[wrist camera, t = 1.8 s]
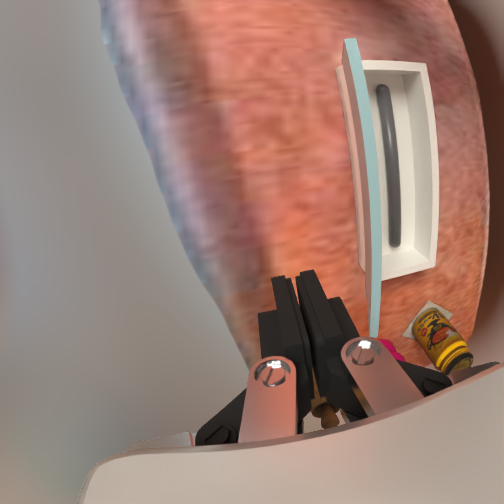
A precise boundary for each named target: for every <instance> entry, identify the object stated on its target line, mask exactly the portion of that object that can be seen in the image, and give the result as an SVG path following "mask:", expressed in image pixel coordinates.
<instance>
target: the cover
mask: <svg viewBox="0 0 504 504" xmlns="http://www.w3.org/2000/svg"><path fill="white" fill-rule="evenodd" d="M342 65H343V70H344V75H345V79H346V84H347V89H348V95H349V100H350V106H351V112H352V118H353V124H354V131H355V138H356V145H357V153H358V161H359V170H360V180H361V191H362V203H363V218H364V239H365V285H366V296H367V309H368V324H369V337H378V328H379V316H380V300H381V276H382V224H381V200H380V184H379V171H378V161H377V151H376V142H375V134H374V127H373V120H372V113H371V107H370V101H369V96H368V90H367V85H366V80H365V75H364V70H363V65H362V61H361V57H360V52H359V48H358V44H357V40H356V38H350V39H344V44H343V52H342Z"/></svg>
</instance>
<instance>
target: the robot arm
mask: <svg viewBox="0 0 504 504" xmlns="http://www.w3.org/2000/svg"><path fill="white" fill-rule="evenodd" d="M295 278H296V285H297V292H298V299H299V304H298V301H297V297H296V294H295V291H294V287H293V284H292V281H291V278H287V279H285V275H283V276H278V277H273V278H271V280H272V285H273V291H274V296H275V301H276V307H277V310H273V311H267V312H262V313H258V322H259V334H260V345H261V356H262V359H261V360H259V361H258V362H257V363H255V364H254V365H253V367H252V368H251V370H250V373H249V378H248V384H247V388H246V389H245V390H244V391H243V392H242V393H240V394H239V395H238V396H237V397H236V398H235V399H234V400H233V401H232V402H230V403H229V404H228V405H227V406H226V407H225V408H224V409H222V410H221V411H220V412H219V413H218V414H216V415H215V416H214V417H213V418H212V419H211V420H209V421H208V422H207V423H206V424H205V425H203V426H202V427H201V429H199V431H198V432H197V433H192V434H190V432H184V433H180V434H175V435H170V436H166V437H161V438H156V439H151V440H144V441H139V442H136V443H133V444H132V445H131V446H129V447H128V449H127V450H126V452H124V453H120V454H116V455H113V456H110V457H108V458H106V459H103V460H102V461H100V462H98V463H97V464H95V466H94V467H93V468H92V469H91V470H90V472H89V473H88V475H87V477H86V479H85V481H84V484H83V486H82V488H81V491H80V494H79V497H78V500H77V504H504V362H502V363H499V362H490V363H486V364H482V365H478V366H473V367H469V368H465V369H460V370H456V371H451V372H450V374H449V375H445V374H443V373H441V372H438V371H435V370H431V369H428V368H424V367H421V366H417V365H414V364H410V363H407V362H404V361H400V360H397V359H394V357H393V356H392V355H391V353H390V352H389V351H388V350H387V348H386V347H385V346H384V345H383V344H382V343H381V342H380V341H379V340H377V339H375V338H372V337H360V336H359V334H358V332H357V330H356V328H355V326H354V324H353V322H352V320H351V318H350V316H349V314H348V312H347V310H346V308H345V306H344V304H343V302H342V300H341V298H340V297H335V298H330V299H327V297H326V295H325V293H324V291H323V289H322V286H321V284H320V282H319V280H318V278H317V276H316V273H315V271H314V270H308V271H303V272H300V276H297V277H295ZM299 307H300V308H299ZM312 368H313V371H312ZM313 372H314V376H315V380H316V384H317V387H318V391H319V395H320V398H321V397H326V401H327V404H331V405H334V406H336V407H338V408H340V412H341V415H342V417H343V419H344V421H345V423H346V424H344V425H340V426H336V427H331V428H327V429H323V430H318V431H314V432H309V433H304V421H303V418H304V417H305V416H306V415H307V414H308V412H309V411H310V410H311V409H312V406H311V400H312V399H315V394H314V382H313Z"/></svg>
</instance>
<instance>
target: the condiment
mask: <svg viewBox="0 0 504 504" xmlns="http://www.w3.org/2000/svg"><path fill="white" fill-rule="evenodd" d="M452 315H453V313H451V312H449V311H447V310H445V309H443V308H442V307H440V306H438V305H436V304H434V303H432V302H430V301H427V303H426V304H425V305H424V307H423V308H422V309H421V310H420V312H419V313H418V314H417V316H416V317H415V318H414V320H413V321H412V322H411V324H410V325H409V326H408V328H407V329H406V331H405V332H404V333H403V334H402V336H405V337H408V338H411V339H413V340H416V341H418V342H419V343H420V345H421V346H422V348H423V349H424V351H425V352H426V354H427V355H428V357H429V358H430V360H431V361H432V363H433V365H434V366H435V368H436V369H437V370H439V371H441V373H443V374H445V375H449V374H450V372H451V371H456V370H460V369H465V368H469V367H471V365H472V363H473V355H472V354H471V353H470V351H469V349H468V348H467V346H466V342H465V341H464V339H463V338H462V336H460V334H459V333H458V332H457V331H456V329H455V328H454V327H453V326H452V325H451V323H450V322H449V321H448V320H449V319H450V318H451V316H452Z"/></svg>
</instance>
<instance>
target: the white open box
mask: <svg viewBox="0 0 504 504" xmlns="http://www.w3.org/2000/svg"><path fill="white" fill-rule="evenodd" d="M361 61H362V65H363V70H364V75H365V80H366V85H367V90H368V96H369V101H370V107H371V113H372V120H373V127H374V134H375V142H376V151H377V161H378V171H379V184H380V200H381V224H382V276H381V281H383V280H387V279H391V278H395V277H399V276H403V275H406V274H410V273H414V272H418V271H421V270H425V269H428V268H432V267H435V260H436V250H437V237H438V219H439V164H438V146H437V134H436V124H435V115H434V107H433V100H432V94H431V88H430V82H429V77H428V72H427V67H426V63H416V62H404V61H385V60H361ZM335 71H336V76H337V81H338V86H339V91H340V96H341V101H342V107H343V113H344V119H345V125H346V131H347V138H348V145H349V152H350V160H351V169H352V178H353V187H354V198H355V210H356V224H357V242H358V264H359V265H360V266H361V268H362V269H363V270H364V272H365V239H364V218H363V203H362V191H361V180H360V170H359V161H358V153H357V145H356V138H355V131H354V124H353V118H352V112H351V106H350V100H349V95H348V89H347V84H346V79H345V75H344V70H343V65H341V66H339V67H337V68H335Z"/></svg>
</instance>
